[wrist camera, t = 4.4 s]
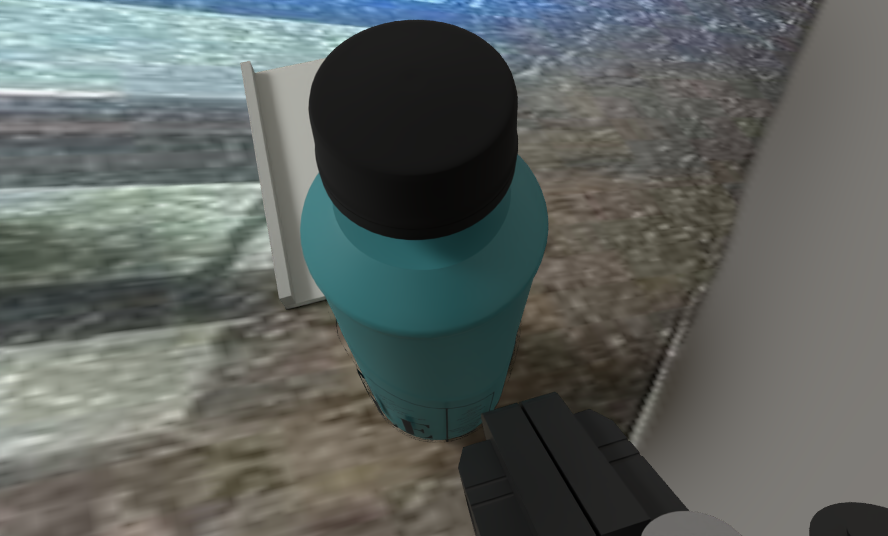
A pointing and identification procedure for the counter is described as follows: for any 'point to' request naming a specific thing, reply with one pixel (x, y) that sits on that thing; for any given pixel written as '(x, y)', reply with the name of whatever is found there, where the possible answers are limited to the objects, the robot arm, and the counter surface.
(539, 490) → the robot arm
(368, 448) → the counter surface
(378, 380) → the beverage bottle
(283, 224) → the panel with raised edges
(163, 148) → the counter surface
